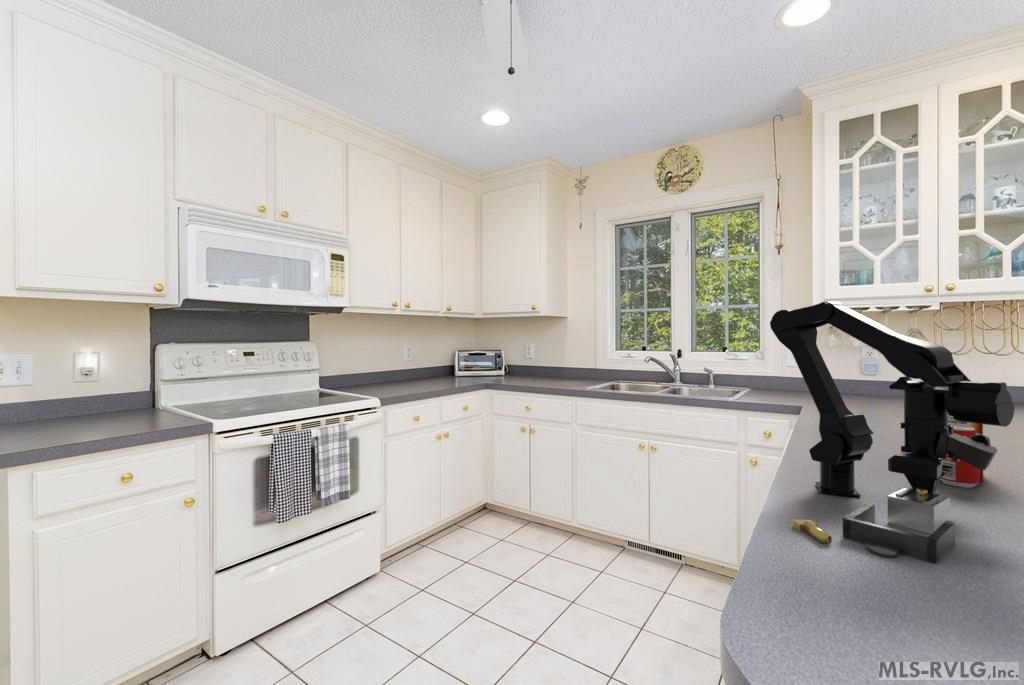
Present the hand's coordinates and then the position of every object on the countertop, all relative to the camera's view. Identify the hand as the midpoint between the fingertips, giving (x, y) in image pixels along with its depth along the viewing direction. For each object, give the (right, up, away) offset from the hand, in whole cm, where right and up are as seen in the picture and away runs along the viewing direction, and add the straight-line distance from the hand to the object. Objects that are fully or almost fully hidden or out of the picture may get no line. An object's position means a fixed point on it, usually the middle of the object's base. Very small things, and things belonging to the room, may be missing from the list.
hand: (926, 506), depth 81 cm
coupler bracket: (-14, -2, -10) cm, 17 cm away
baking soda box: (+26, -1, +23) cm, 35 cm away
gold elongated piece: (-24, -2, -8) cm, 26 cm away
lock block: (-4, -2, -3) cm, 6 cm away
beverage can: (+21, -1, +17) cm, 27 cm away
